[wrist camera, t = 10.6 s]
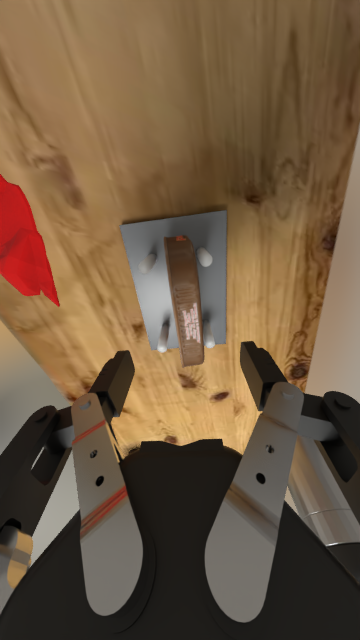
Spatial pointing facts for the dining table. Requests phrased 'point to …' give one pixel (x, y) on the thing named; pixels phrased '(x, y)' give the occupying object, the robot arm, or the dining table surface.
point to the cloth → (22, 246)
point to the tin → (185, 298)
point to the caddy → (153, 278)
